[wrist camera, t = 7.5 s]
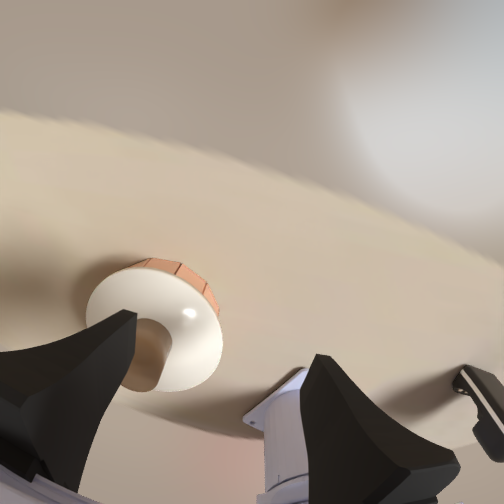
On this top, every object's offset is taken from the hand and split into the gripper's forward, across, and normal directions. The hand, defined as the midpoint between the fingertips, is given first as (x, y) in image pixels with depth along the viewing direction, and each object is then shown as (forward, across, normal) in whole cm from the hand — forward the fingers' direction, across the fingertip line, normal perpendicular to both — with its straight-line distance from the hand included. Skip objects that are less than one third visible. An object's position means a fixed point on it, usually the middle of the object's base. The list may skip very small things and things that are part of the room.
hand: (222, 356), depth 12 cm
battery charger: (+10, -27, +7) cm, 29 cm away
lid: (+6, +4, +4) cm, 9 cm away
